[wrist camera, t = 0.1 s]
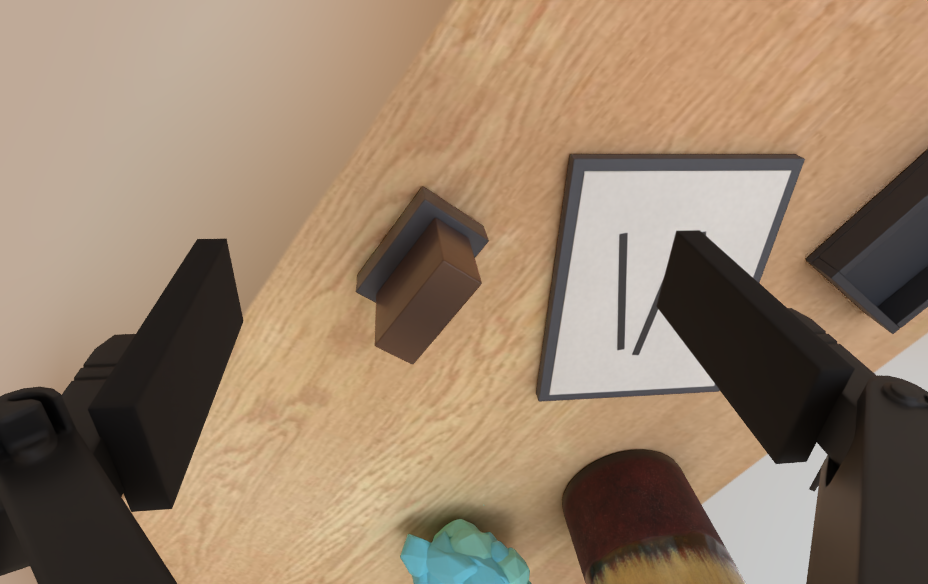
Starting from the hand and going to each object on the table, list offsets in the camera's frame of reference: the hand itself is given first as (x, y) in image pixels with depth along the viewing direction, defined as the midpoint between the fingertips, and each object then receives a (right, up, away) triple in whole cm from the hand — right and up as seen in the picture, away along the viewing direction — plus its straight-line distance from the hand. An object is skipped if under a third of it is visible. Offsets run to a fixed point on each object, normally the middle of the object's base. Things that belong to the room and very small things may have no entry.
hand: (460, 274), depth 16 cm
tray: (+30, +4, +21) cm, 36 cm away
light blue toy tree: (0, -23, +33) cm, 40 cm away
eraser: (-3, +2, +17) cm, 17 cm away
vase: (+14, -18, +32) cm, 39 cm away
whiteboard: (+13, 0, +21) cm, 24 cm away
